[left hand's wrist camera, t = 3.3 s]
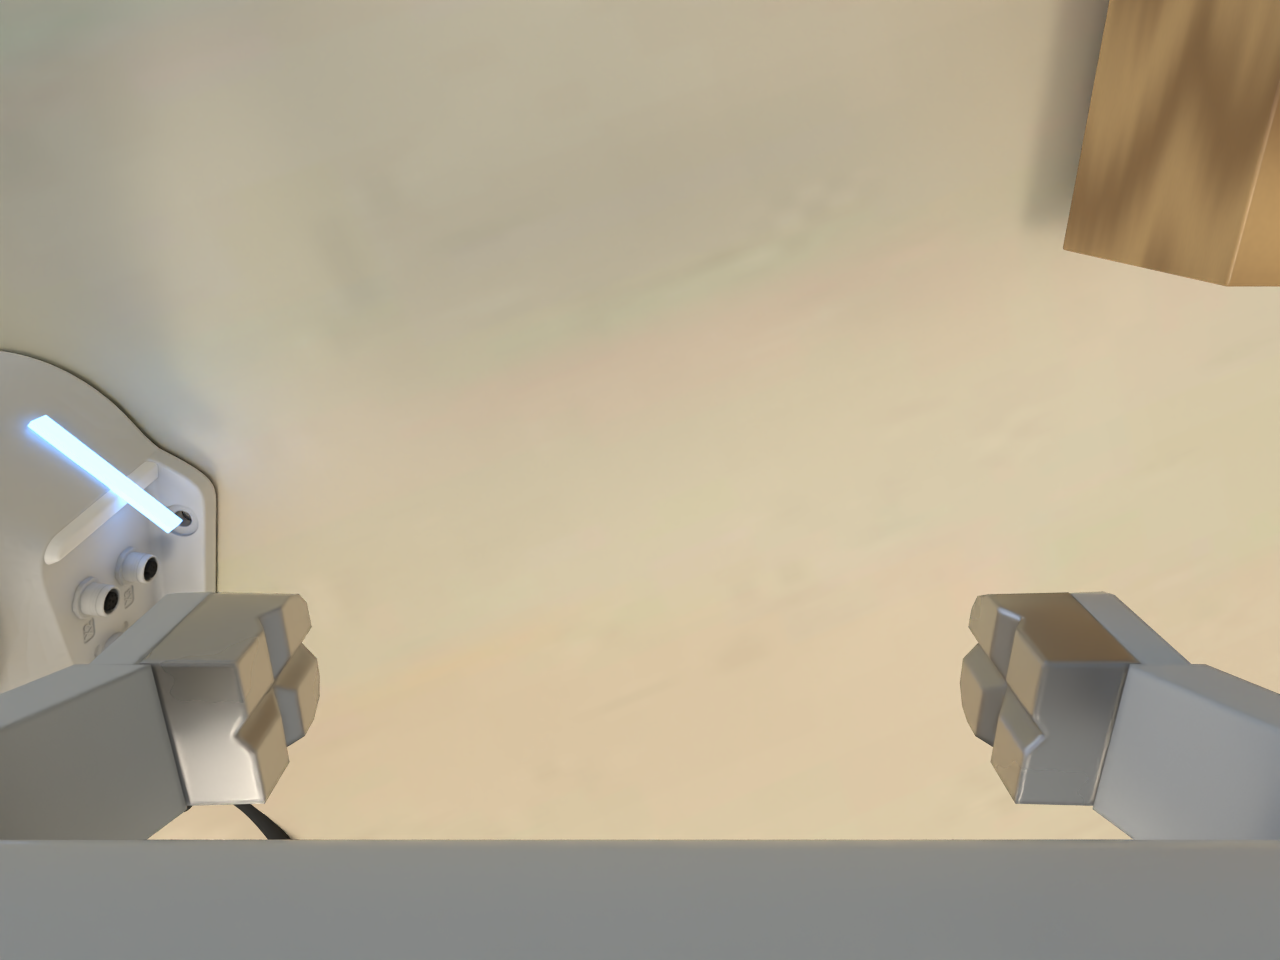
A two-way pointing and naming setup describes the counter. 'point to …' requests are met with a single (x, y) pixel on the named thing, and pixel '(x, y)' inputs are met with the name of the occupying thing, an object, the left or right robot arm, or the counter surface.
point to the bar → (1184, 142)
